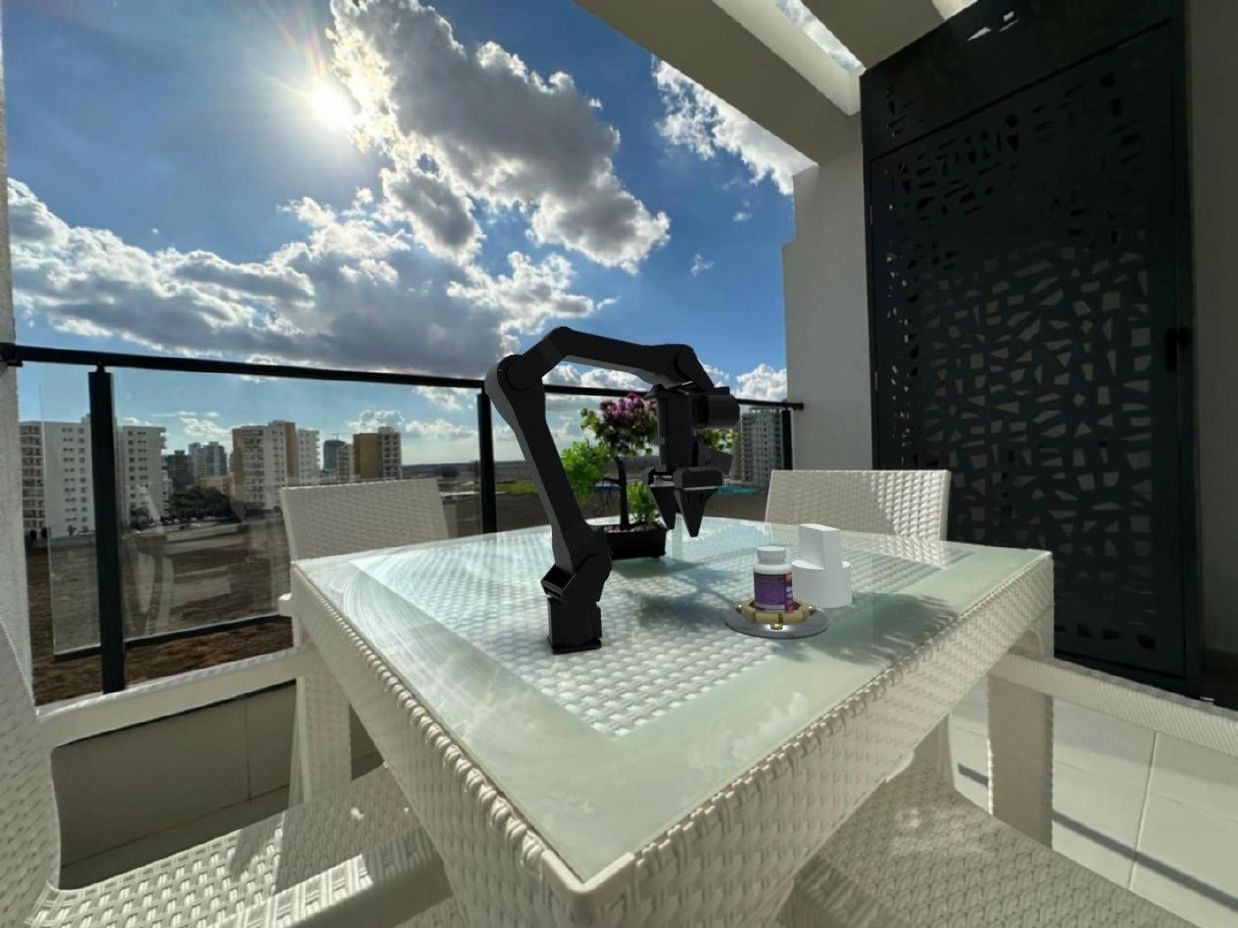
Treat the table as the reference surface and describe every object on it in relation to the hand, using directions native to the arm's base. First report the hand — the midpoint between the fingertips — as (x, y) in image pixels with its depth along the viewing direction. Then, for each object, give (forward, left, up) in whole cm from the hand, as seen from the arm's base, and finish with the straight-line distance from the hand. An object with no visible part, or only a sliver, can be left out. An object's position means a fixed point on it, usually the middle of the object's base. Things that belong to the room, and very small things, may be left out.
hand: (681, 533), depth 79 cm
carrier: (+11, -7, -13) cm, 18 cm away
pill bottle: (+11, -7, -12) cm, 18 cm away
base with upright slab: (+24, 0, -13) cm, 27 cm away
